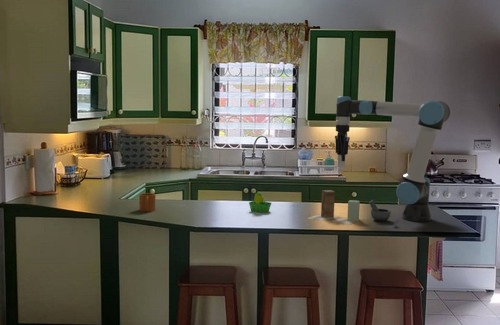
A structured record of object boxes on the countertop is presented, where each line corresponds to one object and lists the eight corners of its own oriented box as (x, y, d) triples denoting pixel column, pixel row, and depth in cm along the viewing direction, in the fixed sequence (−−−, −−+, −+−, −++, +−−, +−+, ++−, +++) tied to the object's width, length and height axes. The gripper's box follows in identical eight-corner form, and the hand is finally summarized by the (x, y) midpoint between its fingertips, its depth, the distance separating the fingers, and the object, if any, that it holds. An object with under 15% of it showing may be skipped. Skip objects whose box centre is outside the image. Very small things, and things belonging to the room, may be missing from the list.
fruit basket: (271, 211, 302) (272, 191, 301) (265, 214, 294) (266, 193, 293) (253, 209, 307) (254, 189, 306) (247, 211, 299) (247, 192, 298)
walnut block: (321, 216, 284) (321, 190, 282) (329, 215, 285) (330, 190, 284) (325, 218, 279) (326, 191, 278) (333, 217, 281) (334, 191, 279)
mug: (135, 212, 291) (135, 196, 290) (142, 208, 303) (141, 193, 302) (151, 213, 290) (151, 196, 289) (157, 209, 302) (157, 193, 301)
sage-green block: (358, 219, 277) (359, 200, 276) (357, 221, 272) (357, 202, 271) (349, 218, 279) (350, 200, 278) (347, 220, 274) (348, 201, 273)
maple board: (360, 222, 277) (360, 220, 277) (350, 227, 265) (350, 224, 265) (318, 216, 289) (318, 214, 289) (307, 221, 278) (307, 218, 277)
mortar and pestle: (388, 222, 281) (390, 199, 279) (391, 225, 271) (392, 202, 270) (367, 220, 282) (368, 198, 281) (368, 224, 273) (369, 201, 272)
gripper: (330, 123, 302) (328, 165, 304) (343, 125, 288) (341, 168, 290) (342, 124, 304) (340, 165, 307) (355, 125, 290) (353, 168, 292)
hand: (341, 166), depth 298 cm, fingers open, 2 cm apart
